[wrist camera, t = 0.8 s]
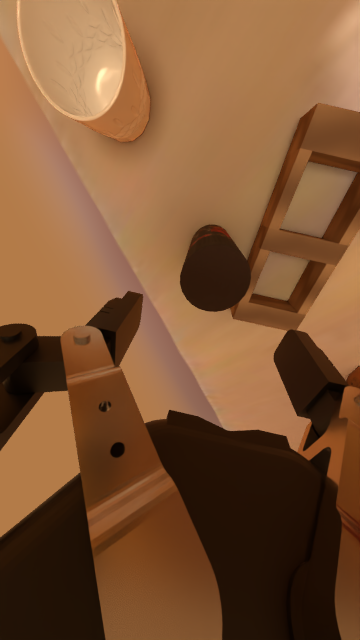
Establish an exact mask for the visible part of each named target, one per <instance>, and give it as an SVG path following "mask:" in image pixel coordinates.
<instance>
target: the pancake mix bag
mask: <svg viewBox="0 0 360 640" xmlns="http://www.w3.org/2000/svg"><path fill="white" fill-rule="evenodd" d="M347 383H348V384H349V386H352V387H356V388H359V389H360V366H359V367H358V368H357V369H356V370H354V371H353V372H352V373H351V374H350V375H349V376H348V378H347Z"/></svg>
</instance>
